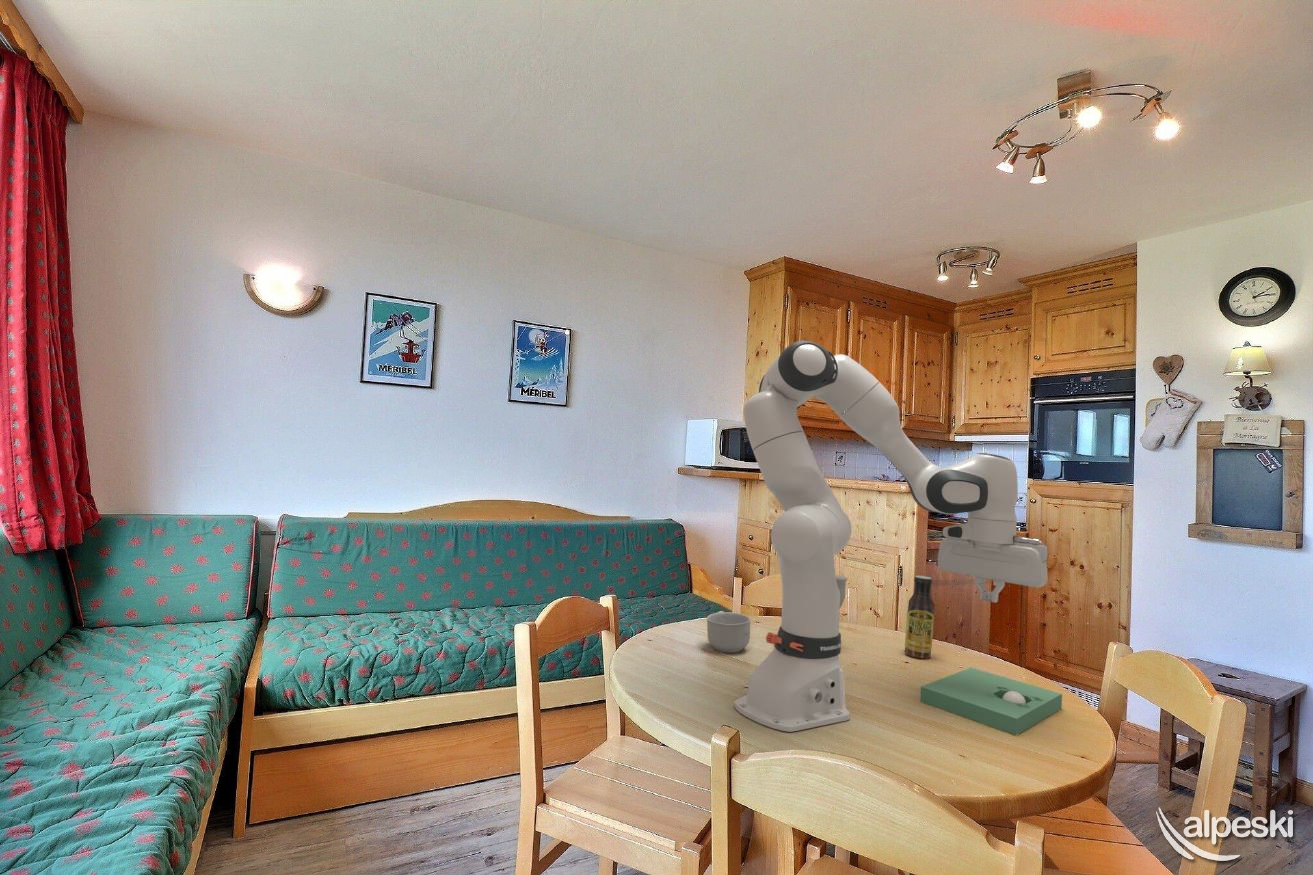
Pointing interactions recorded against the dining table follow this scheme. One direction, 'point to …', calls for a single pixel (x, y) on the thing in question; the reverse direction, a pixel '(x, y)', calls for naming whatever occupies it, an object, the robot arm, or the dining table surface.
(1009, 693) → the ball
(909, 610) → the sauce bottle
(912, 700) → the dining table surface
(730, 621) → the teacup
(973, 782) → the dining table surface
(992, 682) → the putting board
